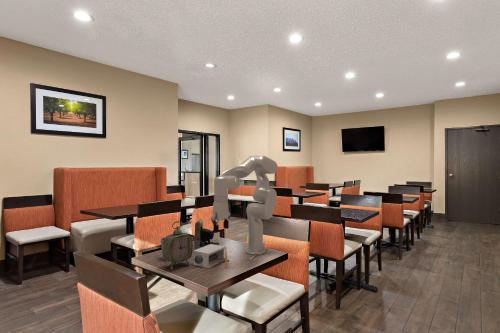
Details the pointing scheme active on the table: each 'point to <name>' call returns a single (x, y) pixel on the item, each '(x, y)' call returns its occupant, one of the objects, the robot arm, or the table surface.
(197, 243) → the vintage camera
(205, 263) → the camera housing
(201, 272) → the table surface
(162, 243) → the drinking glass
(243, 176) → the robot arm
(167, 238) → the tabletop clock
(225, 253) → the side door
